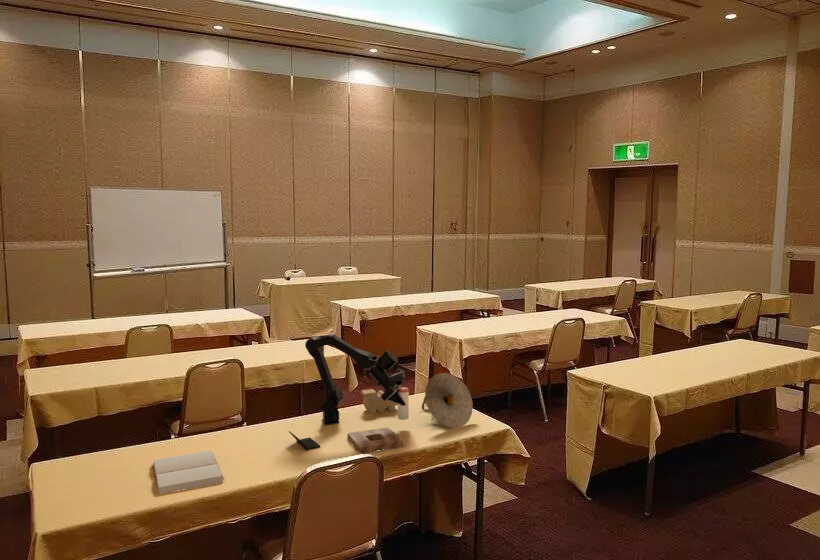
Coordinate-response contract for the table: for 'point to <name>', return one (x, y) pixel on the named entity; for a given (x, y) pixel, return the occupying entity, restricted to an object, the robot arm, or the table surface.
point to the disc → (448, 400)
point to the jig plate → (382, 436)
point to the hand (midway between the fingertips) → (406, 403)
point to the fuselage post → (404, 410)
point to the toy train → (376, 401)
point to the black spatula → (306, 443)
